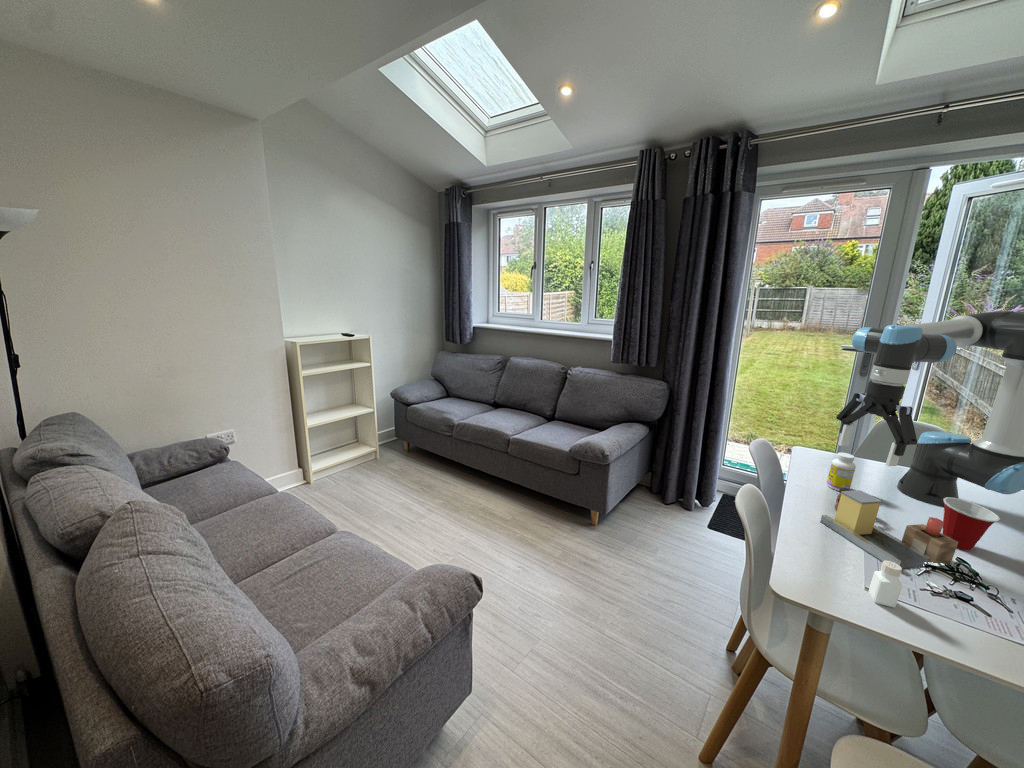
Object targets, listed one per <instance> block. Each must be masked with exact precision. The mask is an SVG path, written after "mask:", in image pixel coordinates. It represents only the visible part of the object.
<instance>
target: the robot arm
mask: <svg viewBox="0 0 1024 768" xmlns="http://www.w3.org/2000/svg"><path fill="white" fill-rule="evenodd" d="M851 345H852V347H853V349H855V350H856V351H860V352H864V353H866V354H868V353H869V354H874V355H875V354H876V356H875V359H874V362H873V365H872V369H871V373H870V376H869V379H870V381H868V382H867V386H866V390H865V393H866V394H865V393H862V392H860V393H859V392H858V393H857V392H855V393H853V395H852V398H851V400H850V401H849V402H848V403H847V404H846V406H844V408H843V409H842V410H841V411H840V412H839V413H838V414H837V415H836V417H835V418H836V420H838V421H840V423H841V426H840V428H839V429H840V430H839V434H840V438H839V440H838V446H840V447H845V446H846V447H848V446H849V444H850V441H851V438H852V435H853V434H852V433H853V430H854V427H855V426H854V422H856V421H858V420H859V419H861V418H863V417H865V416H866V415H867V414H870V415H875V416H877V417H879V418H882V419H883V420H884V421H885V422H886V423H887V426H888V428H889V430H890V432H891V434H892V436H893V439H894V442H892V443H891V444H890V445H891V446H890V450H889V452H888V455H887V457H886V462H885V464H884V465H885V466H887V467H897V466H898V463H899V459H900V457H903V456H904V454H905V451H906V447H907V446H910V445H912V446H913V445H916V447H915V451H914V453H913V457H912V459H911V463H910V466H909V469H908V470H907V472H905V473H904V475H903V476H902V477H901V478H900V479H899V480H898V482H897V486H896V487H897V489H898V491H900V493H902V494H904V495H906V496H908V497H910V498H913V499H916V500H918V501H922V502H924V503H927V504H930V505H931V504H932V505H935V506H936V505H937V506H941V505H943V507H944V501H943V499H944V498H946V497H949V498H957V499H960V497H959V490H958V483H957V482H958V479H961V480H963V481H966V482H969V483H971V484H974V485H976V486H979V487H981V488H984V489H985V490H988V491H992V492H995V493H998V494H1002V495H1014V494H1016V493H1019V492H1021V491H1022V490H1024V311H1012V310H998V311H996V310H995V311H987V312H986V311H985V312H978V313H970V314H964V315H958V316H954V317H953V318H950V319H949V320H942V321H941V320H940V321H932V322H924V323H916V324H908V325H899V324H889V325H886V326H885V327H882V328H881V327H880V328H879V327H873V326H871V327H867V326H865V327H864V326H863V327H860V328H859V329H857V330H856V331H855V332H854V334H853V336H852V339H851ZM967 346H971V347H980V348H986V349H991V350H998V351H999V350H1000V351H1002V354H1001V358H1002V360H1004V362H1005V363H1006V367H1005V370H1004V372H1003V375H1002V378H1001V381H1000V383H999V387H998V389H997V393H996V395H995V397H994V402H993V404H992V408H991V410H990V413H989V416H988V419H987V422H986V424H985V426H984V430H983V434H982V436H981V438H979V439H976V440H973V441H972V439H971V438H970V437H969V436H966V435H962V434H957V433H953V432H952V433H951V432H945V431H924V432H922V433H921V434H920V436H919V438H918V439H917V435H916V429H915V425H914V421H913V420H914V419H913V416H912V415H913V410H914V409H913V407H912V406H907V405H900V401H901V400H902V399H903V397H904V393H905V390H906V387H905V386H904V385H907V384H908V381H909V378H910V375H911V371H912V366H913V363H930V364H934V363H943V362H946V361H949V360H951V358H953V357H954V355H955V354H956V352H957V349H958V347H967ZM863 402H864V405H862V406H861V407H859V406H860V405H861V404H862V403H863ZM858 407H859V408H858ZM857 408H858V409H857ZM897 413H898V414H897Z"/></svg>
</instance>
